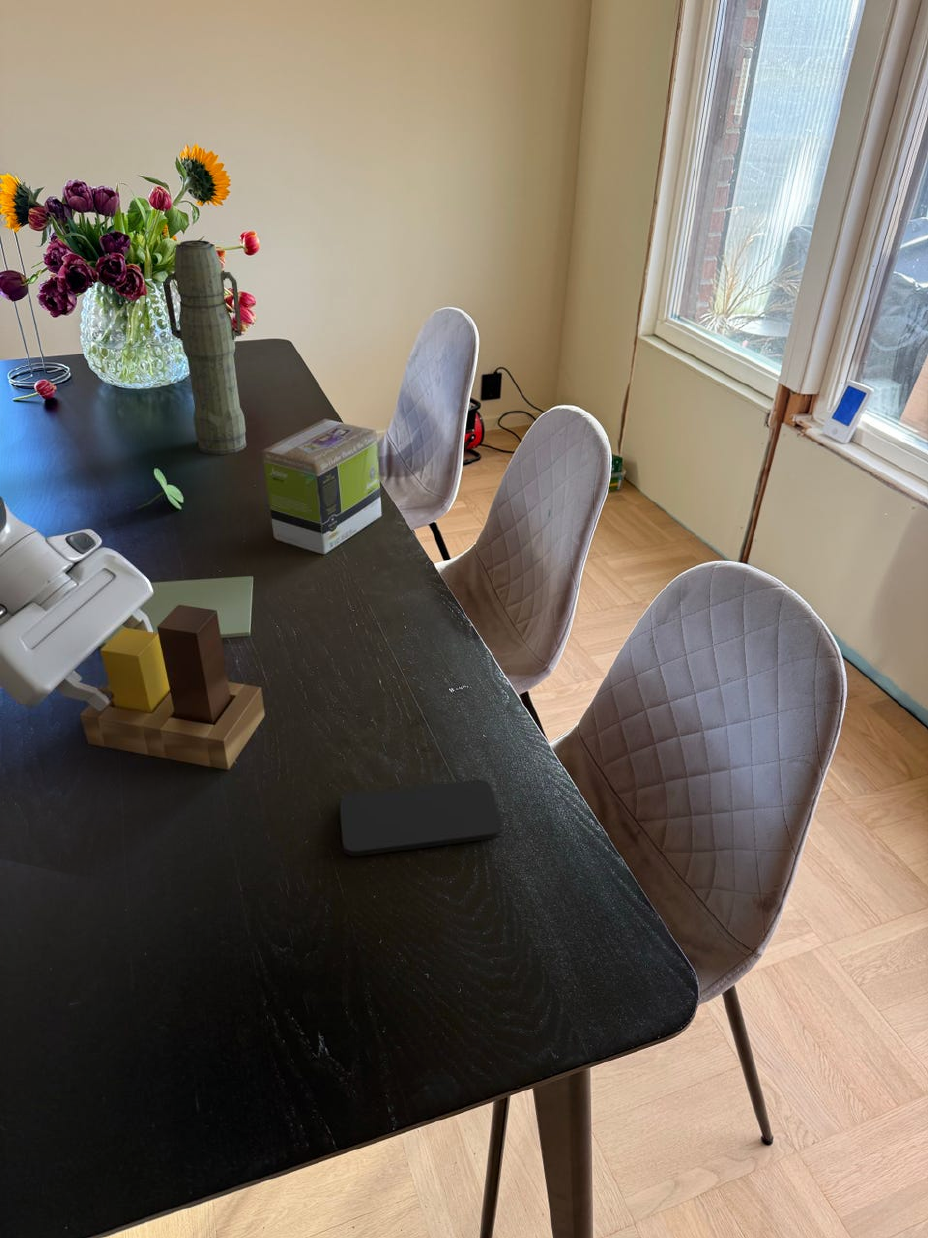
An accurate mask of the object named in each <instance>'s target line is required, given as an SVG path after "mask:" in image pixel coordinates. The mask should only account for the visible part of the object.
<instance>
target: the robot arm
mask: <svg viewBox="0 0 928 1238" xmlns="http://www.w3.org/2000/svg"><path fill="white" fill-rule="evenodd" d="M102 542H103V540H102V538H101V537H100V536H99V534H98V533H96V532H95V530H92V529H90V528H86V529H80V530H77V531H72V532H68V533H65V534H58V535H51V536H48V537H45V536H44V535H43V534H41V532H39V531H38V530H37V529H36V528H34V527H33V526H31V525H29V524H27V523H26V522H23V521H22V520H21V519H19V518H18V517H16V516H15V514H14V513H13V512H11V510H10V508H9V507H8V505H7V504H6V502H5V501H4V499H3V497H2V496H0V687H1V688H2V689H3V690H4V691H5V692H6V693H7V694H8V696H10V697H11V698H12V699H13V700H14V701H15V702H16V703H17V704H19V705H21V706H25V707H33V708H36V707H37V706H38V705H40V703H41V702H42V701H44V700H45V699H46V698H47V697H48V696H49V695H51V693H52V692H53V691H55V690H56V691H57V692H59V693H60V694H61V695H62V696H64V697H65V698H69V699H74V700H77V701H83V702H87V703H88V704H89V705H92V706H93V707H94V708H95V709H96V710H98V711H102V710H103V709H104V708H105V707H106V706H107V705H108V704H109V703H110V702H111V701H112V700H113V699H114V698H115V695H114V693H113V692H111V691H109V690H108V688H107V686H106V685H105V684H103V683H102V684H101V685H100V686H99V687H95V686H93V685H89V684H86V683H84V682H81V681H82V680H83V677H82V676H81V675H80V674H79V673H78V672H77V671H76V669H77V668H78V667H79V666H80V665H82V663H83V662H84V661H86V659H88V658H89V657H90V656H91V654H93V653H94V652H95V651H96V650H97V649H98V648H100V647H99V646H100V645H101V644H102V643H103V642H104V641H105V640H106V639H107V638H108V637H109V636H110V635H111V634H113V633H114V632H115V631H116V630H117V629H118V628H119V627H120V626H121V625H123V626H124V627H126V628H129V629H135V630H141V631H147V632H153V630H152V627H151V625H150V622H149V619H148V617H147V615H146V614H144V613H143V612H142V611H141V610H140V609H139V608H140V607H141V606H142V605H143V604H144V603H145V602H146V601H147V600H148V599H149V598H150V597H151V596H152V595H153V589H152V586H151V583H152V582H151V581H150V580H149V579H148V577H146V575H144V573H142V572H141V571H140V570H139V569H138V568H137V567H136V566H135V565H134V564H133V563H131V562H130V561H129V560H128V559H126V558H125V557H124V556H123V555H122V554H120V553H119V552H118V551H116V550H114V549H112V548H110V547H101V545H102Z"/></svg>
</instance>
